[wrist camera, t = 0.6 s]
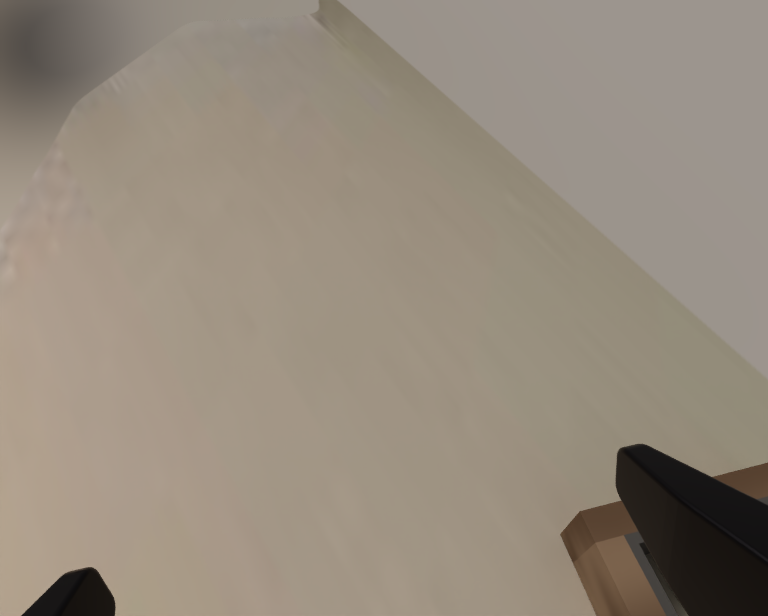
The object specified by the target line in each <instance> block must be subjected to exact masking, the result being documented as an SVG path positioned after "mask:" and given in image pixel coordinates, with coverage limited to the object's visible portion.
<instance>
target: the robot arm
mask: <svg viewBox="0 0 768 616" xmlns="http://www.w3.org/2000/svg"><path fill="white" fill-rule="evenodd" d="M616 488H617V492H618V494H619V497H620V499H621V500H622V502H623V504H624V506H625V508H626V510H627V511H628V513H629V515H630V517H631V519H632V521H633V522H634V524H635V526H636V528H637V530H638V532H639V533H640V535H641V537H642V539H643V541H644V542H645V544H646V546H647V548H648V550H649V552H650V553H651V555H652V557H653V559H654V561H655V563H656V564H657V566H658V568H659V570H660V572H661V573H662V575H663V577H664V578H665V580H666V582H667V584H668V585H669V587H670V588H671V590H672V591H673V593H674V594H675V596H676V597H677V599H678V600H679V602H680V603H681V605H682V606H683V608H684V609H685V611H686V612H687V614H688V615H689V616H768V505H767V504H765V503H763V502H761V501H759V500H757V499H755V498H753V497H751V496H749V495H747V494H745V493H743V492H741V491H739V490H737V489H735V488H733V487H731V486H729V485H727V484H725V483H723V482H721V481H719V480H717V479H715V478H713V477H711V476H708V475H706V474H704V473H702V472H700V471H698V470H696V469H694V468H692V467H690V466H688V465H686V464H684V463H682V462H680V461H678V460H676V459H674V458H672V457H670V456H668V455H666V454H664V453H662V452H660V451H658V450H656V449H654V448H652V447H650V446H647V445H645V444H635V445H631V446H627V447H622V448H620V449H619V451H618V453H617V465H616ZM22 616H115V600H114V597H113V595H112V593H111V592H110V590H109V589H108V587H107V585H106V584H105V582H104V581H103V579H102V577H101V576H100V574H99V572H98V571H97V570H96V569H94V568H92V567H87V568H83V569H78V570H74V571H70V572H67V573H65V574H64V575H62V576H61V577H60V578H59V579H58V580H57V581H56V582H55V583H54V584H53V585H52V586H51V587H50V588H49V589H48V590H47V591H46V592H45V593H44V594H43V595H42V596H41V597H40V598H39V599H38V600H37V601H36V602H35V603H34V604H33V605H32V606H31V607H30V608H29V609H28V610H27V611H26V612H25V613H24V614H23V615H22Z"/></svg>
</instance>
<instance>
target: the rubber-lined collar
mask: <svg viewBox="0 0 768 616" xmlns="http://www.w3.org/2000/svg"><path fill="white" fill-rule="evenodd" d="M713 478H715V479H717V480H719V481H721V482H723V483H725V484H727V485H729V486H731V487H733V488H735V489H737V490H739V491H741V492H743V493H745V494H747V495H749V496H751V497H753V498H755V499H757V500H759V501H761V502H763V503H765V504H767V505H768V463H765V464H761V465H757V466H753V467H749V468H746V469H742V470H738V471H734V472H730V473H726V474H722V475H718V476H715V477H713ZM560 535H561V537H562V539H563V542H564V544H565V546H566V548H567V550H568V553H569V555H570V557H571V559H572V562H573V564H574V566H575V568H576V571H577V573H578V575H579V577H580V579H581V582H582V584H583V586H584V588H585V591H586V593H587V595H588V597H589V600H590V602H591V604H592V606H593V608H594V611H595V613H596V615H597V616H678V615H677V613H676V611H675V609H674V607H673V605H672V604H671V602H670V600H669V598H668V596H667V594H666V593H665V591H664V589H663V587H662V585H661V583H660V581H659V580H658V578H657V576H656V574H655V572H654V570H653V569H652V567H651V565H650V563H649V561H648V559H647V558H646V556H645V554H649V553H650V552H649V550H648V548H647V546H646V544H645V542H644V541H643V539H642V537H641V535H640V533H639V532H638V530H637V528H636V526H635V524H634V522H633V521H632V519H631V517H630V515H629V513H628V511H627V510H626V508H625V506H624V504H623V502H622V501H618V502H614V503H610V504H607V505H603V506H599V507H595V508H591V509H587V510H583V511H580V512H579V513H578V514H577V515H576V516H575V518H574V519H573V520H572V521H571V522H570V523H569V525H568V526H567V527H566V528H565V529H564V530H563V532H562V533H561V534H560Z"/></svg>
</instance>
